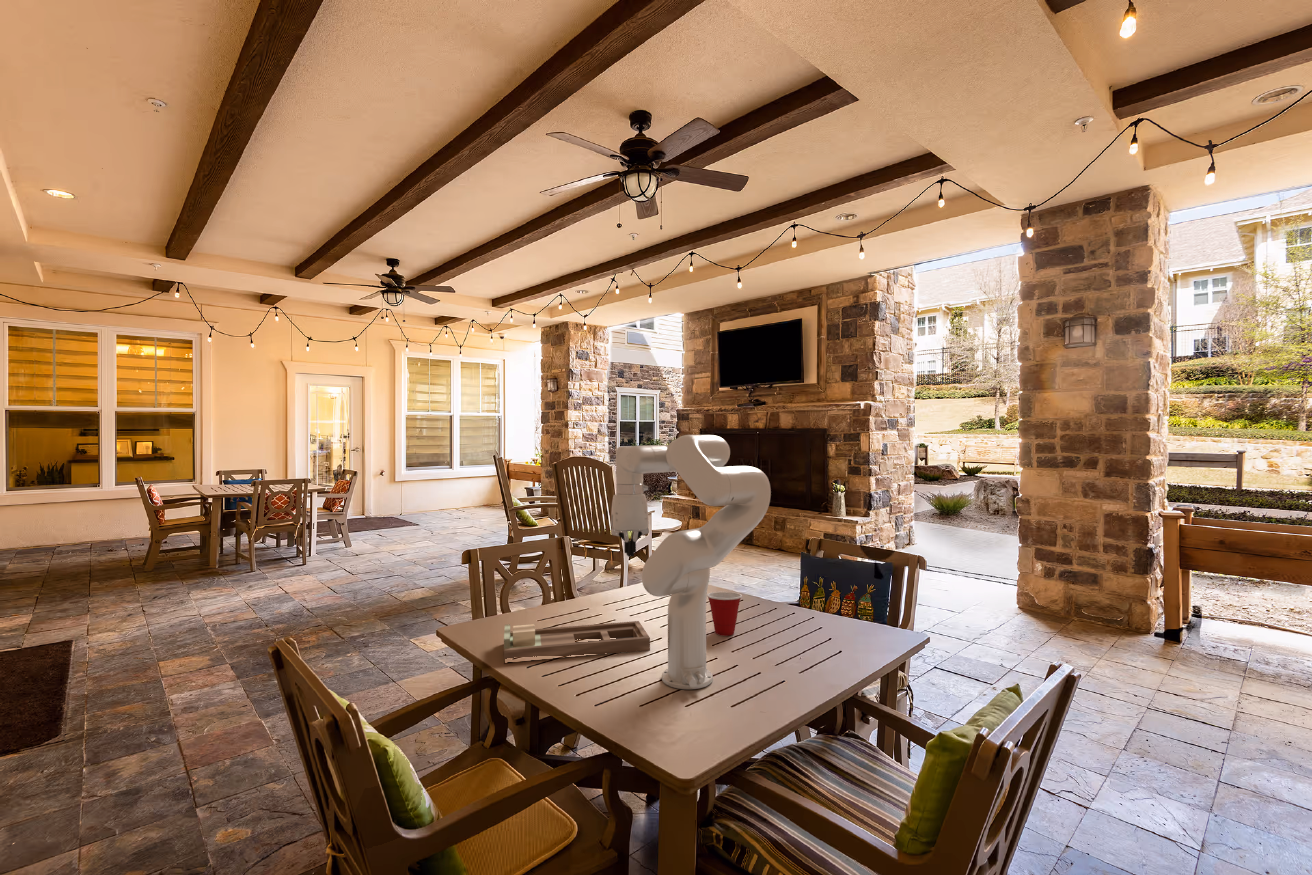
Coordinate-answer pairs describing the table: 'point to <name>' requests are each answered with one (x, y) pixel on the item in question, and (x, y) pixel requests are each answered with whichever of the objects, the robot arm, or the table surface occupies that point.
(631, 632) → the tray
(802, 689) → the table surface
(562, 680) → the table surface
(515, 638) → the maple block
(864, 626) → the table surface
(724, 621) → the plastic cup
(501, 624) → the table surface
